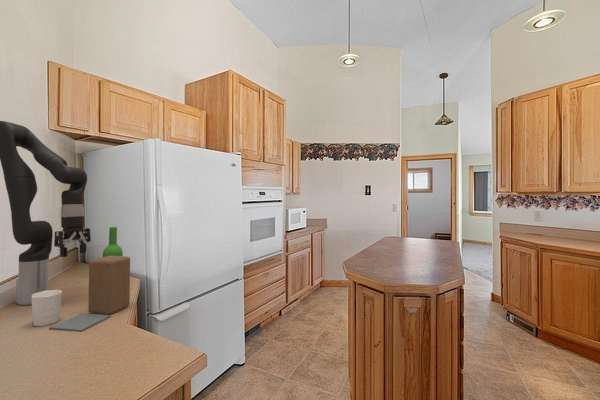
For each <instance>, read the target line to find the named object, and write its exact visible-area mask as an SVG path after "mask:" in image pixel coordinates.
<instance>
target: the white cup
mask: <svg viewBox="0 0 600 400" xmlns="http://www.w3.org/2000/svg"><path fill="white" fill-rule="evenodd" d="M62 294H63V293H62V290H60V289H50V290H49V289H48V291H43V292H38V293H35V294H33V295H32V296H31V297H32V304H31V310H32V312H31V313H32V320H33V321H32V324H33V326H34V327H44V326H49V325H50V326H51V325H52V324H56V323H57V322H58V321H60V312H61V307H62Z"/></svg>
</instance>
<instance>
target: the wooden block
mask: <svg viewBox="0 0 600 400" xmlns="http://www.w3.org/2000/svg"><path fill="white" fill-rule="evenodd" d="M88 264H89V265H88V303H87V305H88V308H87V309H88V310H87V311H88V312H89V313H90V314H99V315H112V314H113V313H116V312H119V311H120V310H123V309H125V308H127V307H129V306H130V303H131V302H130V298H131V297H130V295H131V294H130V293H131V290H130V289H131V287H130V285H131V257H129V256H106V257H103V256H101V257H98V258H93V259H91V260H89V263H88Z"/></svg>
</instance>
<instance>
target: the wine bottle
mask: <svg viewBox="0 0 600 400" xmlns="http://www.w3.org/2000/svg"><path fill="white" fill-rule="evenodd" d="M108 229H109V232H108V233H109V234H108V245H107V246H106V247H105V248H104V249H103V251H102V257H106V256H123V254H124V252H123V249H122V247H121V246H120V245H118V240H117V239H118V227H117V226H112V227H111V226H110V227H109V228H108Z"/></svg>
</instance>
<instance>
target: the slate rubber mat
mask: <svg viewBox="0 0 600 400" xmlns="http://www.w3.org/2000/svg"><path fill="white" fill-rule="evenodd" d="M111 317H112V314H99V313H79V314H77V315H74V316H71V317H69V318H67V319H64V320H62V321H61V322H58V323H55V324H54V325H50V326H49V327H48V329H49V330H53V331H69V332H80V333H81V332H85V331H86V330H88V329H91V328H92V327H94V326H97V325H98V324H100V323H102V322H103V321H106V320H108V319H109V318H111Z"/></svg>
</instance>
